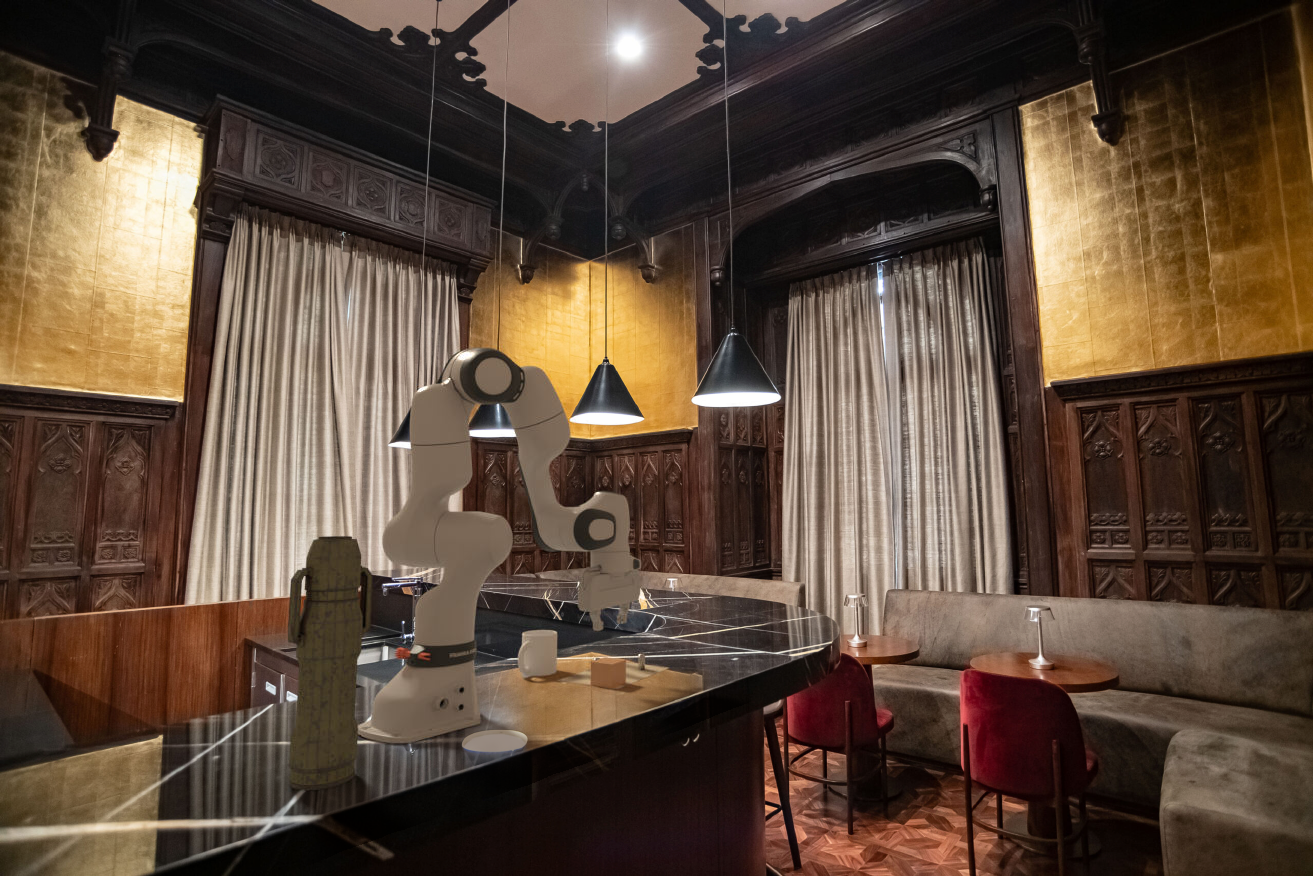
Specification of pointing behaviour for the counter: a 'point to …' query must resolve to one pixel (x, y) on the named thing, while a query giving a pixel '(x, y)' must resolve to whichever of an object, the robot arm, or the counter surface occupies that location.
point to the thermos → (327, 661)
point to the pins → (640, 661)
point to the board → (631, 675)
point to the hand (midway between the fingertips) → (610, 626)
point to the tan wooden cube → (608, 672)
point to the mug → (538, 653)
